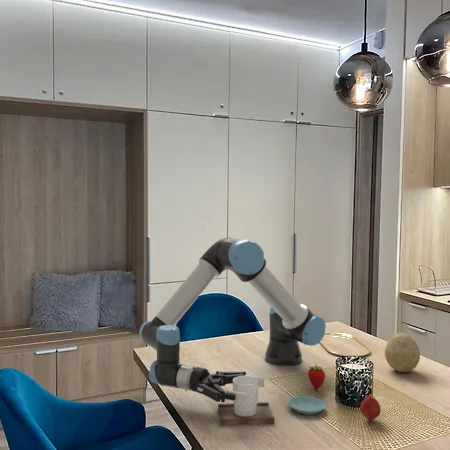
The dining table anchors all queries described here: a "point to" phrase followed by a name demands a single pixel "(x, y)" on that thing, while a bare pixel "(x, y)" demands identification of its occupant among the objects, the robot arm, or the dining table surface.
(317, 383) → the strawberry
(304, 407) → the saucer
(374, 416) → the red rounded fruit
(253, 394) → the white cup
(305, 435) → the dining table surface
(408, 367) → the fossilized egg
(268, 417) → the walnut board
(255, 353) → the dining table surface
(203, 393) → the robot arm
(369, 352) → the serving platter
